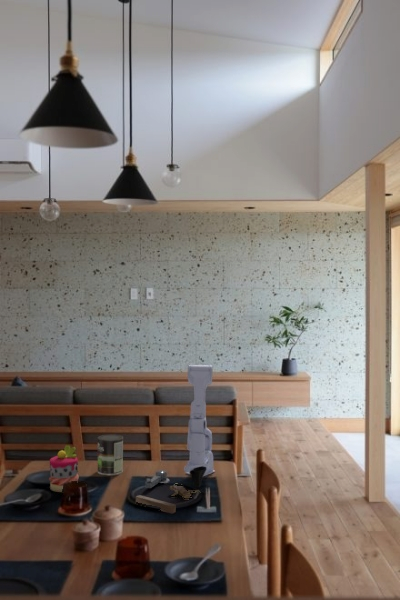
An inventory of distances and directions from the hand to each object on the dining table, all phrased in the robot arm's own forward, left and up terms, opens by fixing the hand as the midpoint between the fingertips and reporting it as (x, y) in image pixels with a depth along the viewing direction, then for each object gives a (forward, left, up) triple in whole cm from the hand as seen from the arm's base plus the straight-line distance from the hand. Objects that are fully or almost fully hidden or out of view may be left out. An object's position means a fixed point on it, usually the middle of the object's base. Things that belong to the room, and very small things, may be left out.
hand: (197, 486), depth 245 cm
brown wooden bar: (+24, 0, -1) cm, 24 cm away
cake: (+28, -41, -1) cm, 50 cm away
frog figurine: (+8, 0, -2) cm, 8 cm away
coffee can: (+3, -41, -1) cm, 41 cm away
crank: (+5, -16, 0) cm, 17 cm away
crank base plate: (0, -17, -1) cm, 17 cm away
